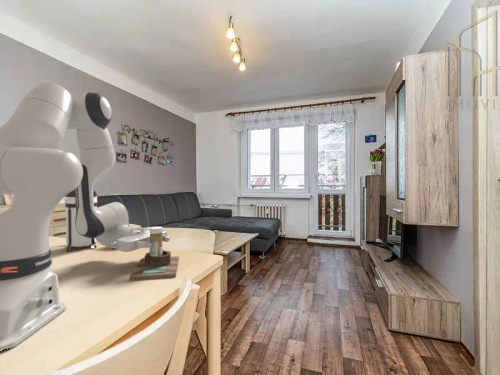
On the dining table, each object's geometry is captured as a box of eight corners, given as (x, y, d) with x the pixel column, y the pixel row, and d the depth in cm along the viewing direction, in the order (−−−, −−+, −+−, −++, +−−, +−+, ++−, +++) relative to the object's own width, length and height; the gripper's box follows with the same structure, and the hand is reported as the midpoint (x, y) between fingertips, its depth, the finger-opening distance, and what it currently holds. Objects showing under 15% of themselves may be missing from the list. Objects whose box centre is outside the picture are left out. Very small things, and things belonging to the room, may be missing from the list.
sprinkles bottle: (165, 263, 91) (165, 227, 91) (154, 267, 87) (154, 229, 87) (157, 261, 94) (157, 225, 93) (146, 264, 90) (146, 227, 90)
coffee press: (109, 244, 123) (109, 183, 122) (78, 253, 107) (78, 183, 107) (83, 241, 128) (83, 183, 127) (50, 249, 113) (49, 183, 112)
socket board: (175, 276, 82) (175, 262, 82) (129, 280, 79) (129, 265, 79) (178, 259, 100) (178, 247, 100) (141, 261, 97) (141, 249, 97)
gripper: (107, 235, 86) (137, 239, 81) (150, 226, 105) (177, 228, 100) (107, 253, 86) (137, 258, 81) (150, 240, 105) (177, 244, 100)
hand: (159, 242), depth 91 cm, fingers open, 8 cm apart
